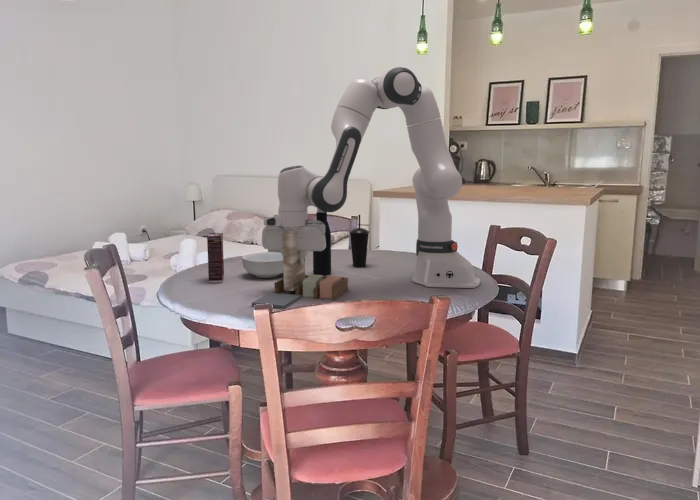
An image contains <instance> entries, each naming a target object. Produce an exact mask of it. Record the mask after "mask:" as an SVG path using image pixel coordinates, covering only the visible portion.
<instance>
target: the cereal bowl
mask: <svg viewBox="0 0 700 500" xmlns="http://www.w3.org/2000/svg"><path fill="white" fill-rule="evenodd" d="M241 262H242V266H243V269H244V270H245V271H246V272H247V273H248V274H252V275H254V276H255V277H256V278H262V279H271V278H277V277H278V276H279V275H281V274H284V271H283V256H282V254H281V253H277V252H268V251H265V252H261V251H260V252H254V253H247V254H245V255H243V256H241Z"/></svg>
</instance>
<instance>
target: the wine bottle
mask: <svg viewBox="0 0 700 500" xmlns="http://www.w3.org/2000/svg"><path fill="white" fill-rule="evenodd" d="M315 217H316V219H315V221H317V220H319V221H321V222H323V223H324V224H325V228H326V231H325V238H326V248H325V249H324V250H323V251H312V269H313V270H312V272H313V273H312V275H323V276H331V275H332V232H331V228H330V224H329V222H328V212H324V211H322V210H320V209H319V208H316V214H315ZM321 224H322V223H321Z"/></svg>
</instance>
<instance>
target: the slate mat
mask: <svg viewBox="0 0 700 500" xmlns="http://www.w3.org/2000/svg"><path fill="white" fill-rule="evenodd" d="M301 296H302V295H295V294H291V293H281V294H279V293H275V292H268V293H267V294H265V295H263V296H261V297H260V298H258V299H256V300H254V301H252V302H251V307H254V305H256V304H266V303H269V304H272V305H273V308H272V309H279V310H285V309H287V308H288V307H290V306H291V305H292V304H294V303H296V302H297V301H299V300H301V298H302V297H301Z"/></svg>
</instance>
